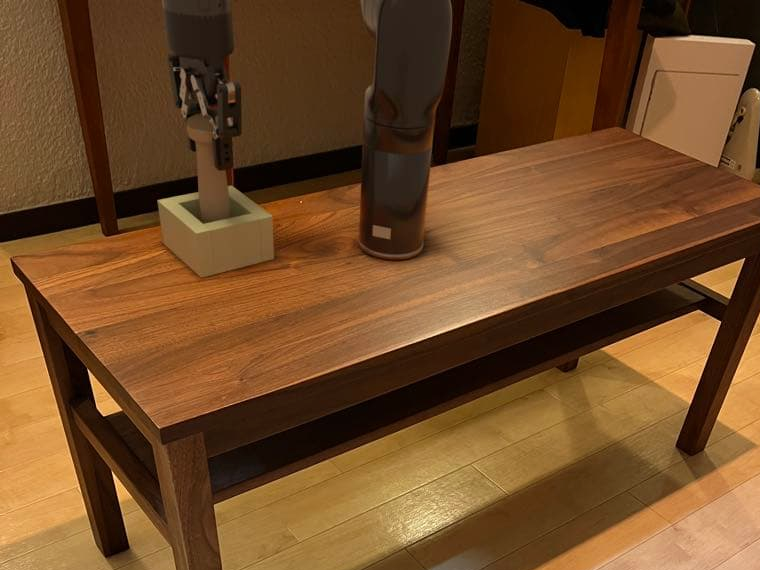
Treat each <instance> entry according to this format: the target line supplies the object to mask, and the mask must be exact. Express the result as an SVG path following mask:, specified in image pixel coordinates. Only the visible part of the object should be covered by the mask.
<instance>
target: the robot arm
mask: <svg viewBox="0 0 760 570" xmlns="http://www.w3.org/2000/svg"><path fill="white" fill-rule="evenodd" d="M161 4H162V12H163V21H164V30H165V40H166V46H167V49H168V51H169V53H167V55H166V56H167V61H168V62H167V64H168V69H169V76H170V82H171V89H172V95H173V102H174V106H175V107H176V109H181V110H180V111H181V115H182V118H184V119H185V125H186V127H185V128H187V120H188V118H190V117H191V116H193V115H195V114H200V113H202V115H203V117H204V118H205V119H207V120H208V122H209V126H210V129H211V133H212V136H213V138H212V142H213V154H214V165H215V168H216V169H218V170H219V171H223V170H226V171H227V170H231V169H233V167H234V156H233V143H232V139H233V138H234V137H241V136H242V134H243V133H242V132H243V131H242V130H243V129H242V85H241V84H240V81H233V82H231V81H229V80H228V76H227V72H226V68H225V67H226V66H225V60H226V58H227V57H228V56H229V57H230V56H231V55H232V54H233V52H234V50H235V41H234V27H233V25H234V24H233V8H232V0H161ZM452 8H453V7H452V2H451V0H360V10H361V16H362V20H363V23H364V26H365V28H366V31H367V32H368V34H369V35H370V36H371V38H372V39H373V40H374V41H375V52H374V53H375V54H374V55H375V56H374V69H373V70H374V71H373V79H372V83H371V84H370V86H368V87H367V88H366V89H365V92H364V99H363V117H362V118H363V120H362V121H363V123H362V148H361V169H360V171H361V173H360V197H359V198H360V199H359V218H358V219H359V220H358V221H359V222H358V236H357V245H358V247H359V248H360V249H361V251H363V252H364V253H366V254H367V255H370V256H373V257H376V258H379V259H385V260H394V261H395V260H407V259H410V258H414V257H416V256H418V255H419V254H421V253H422V251H423V250H424V243H425V242H424V236H425V228H426V227H425V226H426V217H427V207H428V195H429V186H430V185H429V184H430V176H431V167H432V158H433V157H432V156H433V146H434V145H433V144H434V136H435V124H436V115H437V110H438V109H437V108H438V105H439V104H440V101H441V99H442V98H443V93H444V89H445V83H446V79H447V78H446V76H447V70H448V62H449V55H450V50H451V49H450V48H451V40H452V32H453V31H452V30H453V9H452ZM215 106H216V108H211V107H215ZM216 117H218V126H217V122H216ZM186 136H187V144H188V145H187V146H188V149H189V150H190V151H192V152H193V153H197V151H196V142H195V141H194V140H192V139H191V138H190V137H189V136H188V133H187V132H186Z"/></svg>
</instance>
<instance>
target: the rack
mask: <svg viewBox="0 0 760 570" xmlns="http://www.w3.org/2000/svg"><path fill="white" fill-rule="evenodd" d="M228 192H229V203H230V218H228V219H224V220H219V221H215V222H210V223H206V224H203V222H202V217H201V211H200V203H199V192H198V191H196V192H192V193H186V194H182V195H175V196H171V197H167V198H161V199H157V207H158V213H159V214H158V216H159V223H160V229H161V236H162V243H163V245H164V247H166V248H167V249H169V250H170V251H171V252H172V253H173V254H174V255H175V256H176V257H177V258H178V259H179V260H181V261H182V262H183V263H184V264H185V265H186V266H187V267H188V268H189V269H190V270H192V271H193V272H194V273H195V274H196V275H197V276H198V277H199V278H206V277H207V278H208V277H210V276H214V275H218V274H220V273H221V274H223V273H226V272H229V271H233V270H237V269H241V268H245V267H248V266H253V265H257V264H261V263H264V262H269V261H272V260H275V247H274V245H275V244H274V219H273V215H271V214H270V213H269V212H268V211H267V210H265V209H264V208H262V206H260V205H258V204H257V203H256V202H255V201H253V200H251V198H249V197H248V196H246V195H245V194H244V193H243V192H241V191H240V190H238V189H237V188H236V187H235V186H233V185H228Z"/></svg>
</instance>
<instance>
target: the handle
mask: <svg viewBox="0 0 760 570" xmlns="http://www.w3.org/2000/svg"><path fill="white" fill-rule="evenodd" d="M216 122H217V126H218V117H216ZM187 133H188V136H189V137H190V138H191V139H192V140H194V141H195V142H196V151H197V152H196V165H197V166H196V167H197V168H196V169H197V187H198V189H197V190H198V191H197V192H199V203H200V211H201V217H202V222H203V224H206V223H210V222H215V221H219V220H224V219H228V218H230V203H229V192H228V186H229V185H228V179H227V170H223V171H219V170H218V169H216V168H215V165H214V154H213V142H212V138H213V136H212V133H211V129H210V126H209V122H208V120H207V119H205V118H204V117H203V115H202V113H200V114H195V115H193V116H191V117H190V118H188V120H187V127H186V134H187Z"/></svg>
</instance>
